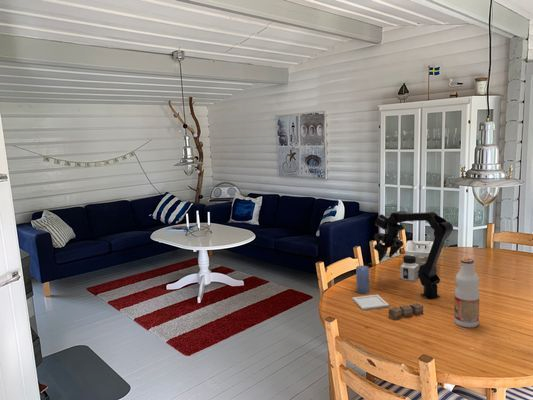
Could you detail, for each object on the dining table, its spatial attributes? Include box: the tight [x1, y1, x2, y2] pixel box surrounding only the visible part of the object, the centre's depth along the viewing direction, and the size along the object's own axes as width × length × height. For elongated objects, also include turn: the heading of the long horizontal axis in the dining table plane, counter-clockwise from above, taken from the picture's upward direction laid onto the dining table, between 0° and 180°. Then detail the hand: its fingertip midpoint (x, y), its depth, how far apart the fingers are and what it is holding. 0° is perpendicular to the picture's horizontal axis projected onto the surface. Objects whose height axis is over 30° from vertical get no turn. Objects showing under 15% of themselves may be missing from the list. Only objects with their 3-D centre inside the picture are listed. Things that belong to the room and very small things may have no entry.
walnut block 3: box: [409, 302, 424, 317], centre depth 184 cm, size 4×4×4 cm
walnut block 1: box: [388, 306, 403, 321], centre depth 182 cm, size 4×4×4 cm
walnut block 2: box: [399, 304, 413, 319], centre depth 183 cm, size 4×4×4 cm
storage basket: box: [404, 240, 434, 267], centre depth 241 cm, size 24×16×15 cm
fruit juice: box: [453, 257, 480, 329], centre depth 171 cm, size 9×9×28 cm
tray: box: [352, 294, 390, 311], centre depth 198 cm, size 13×13×1 cm
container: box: [400, 255, 419, 282], centre depth 228 cm, size 8×8×13 cm
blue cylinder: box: [355, 265, 370, 295], centre depth 213 cm, size 6×6×13 cm
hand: (384, 258), depth 221 cm, fingers open, 9 cm apart
